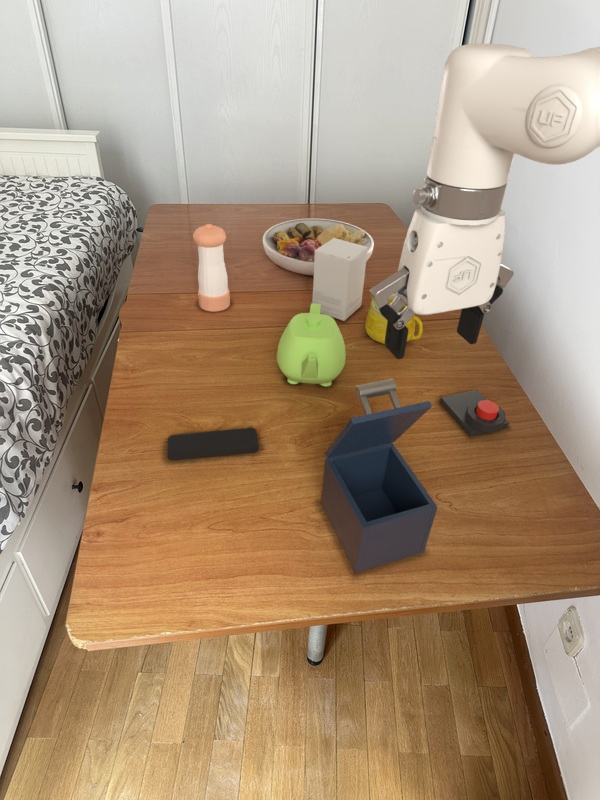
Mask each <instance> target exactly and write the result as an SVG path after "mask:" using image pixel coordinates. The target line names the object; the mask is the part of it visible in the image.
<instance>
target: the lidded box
mask: <svg viewBox="0 0 600 800" xmlns="http://www.w3.org/2000/svg"><path fill="white" fill-rule="evenodd" d="M322 477H323V478H322V489H321V499H320V505H321V507H322V509H323V511H324V513H325V515H326V517H327V519H328V521H329V523H330V525H331V527H332V529H333V532H334V533H335V535H336V537H337V539H338V541H339V543H340V546H341V548H342V550H343V551H344V554H345V555H346V557H347V559H348V562H349V563H350V565H351V568H352V570H353V571H354V574H357V573H358V574H359V573H362V572H365V571H367V570H371V569H374V568H377V567H380V566H384V565H387V564H389V563H394V562H397V561H400V560H404V559H406V558H410V557H414V556H416V555H420V554H423V553H425V550H426V547H427V544H428V540H429V537H430V534H431V530H432V527H433V524H434V521H435V518H436V514H437V512H438V507H439V506H438V505H437V504H436V502H435V501H434V499H433V498H432V497H431V495H430V494H429V492H428V491H427V490H426V488H425V487H424V485H423V484H422V482H421V481H420V480H419V478H418V477H417V475H416V474H415V472H414V471H413V470H412V468H411V466H410V465H409V464H408V462H407V461H406V459H405V458H404V457H403V455H402V454H401V452H400V450H399V449H398V448H397V446H396V445H395V444H394V442H393V443H389V444H385V445H381V446H376V447H372V448H368V449H364V450H360V451H355V452H351V453H347V454H343V455H339V456H334V457H330V458H326V457H325V458H324V467H323V476H322Z"/></svg>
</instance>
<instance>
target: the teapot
mask: <svg viewBox="0 0 600 800" xmlns="http://www.w3.org/2000/svg"><path fill="white" fill-rule="evenodd" d="M320 311H321V304H314V303H312V302H311V303H310V307H309V312H300V313H298V314H296V315H294V316H293V317H292V318H291V319H290V321H289V322H288V324H287V325H286V327H285V328H284V331H283V332H282V334H281V337H280V339H279V342H278V345H277V350H276V362H277V365H278V368H279V369H280V371H281V373H282V374H283V375H284V376H285V377H286V378H287V380H286V381H287V382H288V383H289V384H291V385H297V384H299V383H302V384H312V385H314V384H315V385H317V384H318V385H320V386H322V387H330V386H331V385H332V383H333V382H332V381H334V380H335V379H336V378H337V377H338V376H339V375H340V374H341V373H342V371H343V369H344V367H345V365H346V358H347V353H346V344H345V341H344V340H345V339H344V337H343V334H342V331H341V330H340V328H339V326H338V324H337V322H336V320H335V318H334V317H331V316H328V315H325V314H322V313H320Z"/></svg>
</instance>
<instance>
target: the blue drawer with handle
mask: <svg viewBox="0 0 600 800" xmlns="http://www.w3.org/2000/svg"><path fill="white" fill-rule="evenodd" d="M353 389H354V396H355V398H356V400H358V401H360V405H361V407H362V410H363V412H364V415H359V416H353V417H350V419H349V420H348V422H347V423H346V424H345V425H344V426H343V428H342V429H341V430H340V432H339V433H338V435H337V436H336V437H335V439H334V440H333V442H331V444H330V445H329V447H328V448H327V449H326V451H325V452H324V456H325V458H330V457H334V456H339V455H343V454H347V453H351V452H355V451H360V450H364V449H368V448H372V447H376V446H381V445H385V444H389V443H393V444H394V443H395V442H396V441H398V439H399V438H400V437H401V436H402V435H403V434H404V433H406V431H408V430H409V429H410V428H411V427H412V426H413V425H414V424H415V423H416V422H417V421H419V419H421V418H422V416H424V415H425V414H426V413H427V412H428V411H429V410H430V409H431V408H432V406H433V405H432V403H431V401H430V400H427V401H423V402H418V403H414V404H410V405H409V404H408V405H405V406H402V405H401V402H400V401H399V397H398V395H397V384H396V381H395V380H394V379H393V378H388V379H384V380H378V381H373V382H368V383H363V384H358V385H355V386H354V388H353ZM385 395H388V396H389V400H390V401H391V404H392V407H393V408H391V409H386V410H381V411H377V412H374V413H373V411H372V409H371V406H370V403H369V400H368V399H371V398H375V397H380V396H385Z"/></svg>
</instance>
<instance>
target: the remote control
mask: <svg viewBox="0 0 600 800" xmlns="http://www.w3.org/2000/svg"><path fill="white" fill-rule="evenodd" d="M166 449H167V459H168V460H169V461H182V460H183V461H184V460H192V459H202V458H212V457H213V458H214V457H223V456H233V455H242V454H253V453H254V454H255V453H257V452H259V449H260V445H259V440H258V434H257V430H256V429H255V428H254V427H244V428H243V427H242V428H231V429H221V430H211V431H210V430H209V431H199V432H188V433H177V434H171V435H169V436H168V438H167V447H166Z"/></svg>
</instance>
